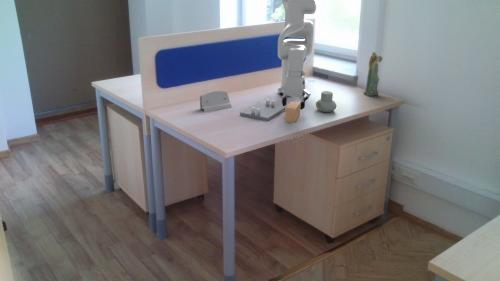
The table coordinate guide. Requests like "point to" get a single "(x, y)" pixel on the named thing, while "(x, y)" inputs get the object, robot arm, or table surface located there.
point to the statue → (372, 75)
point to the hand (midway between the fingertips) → (293, 107)
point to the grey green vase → (326, 102)
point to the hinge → (214, 101)
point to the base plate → (263, 110)
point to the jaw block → (292, 111)
